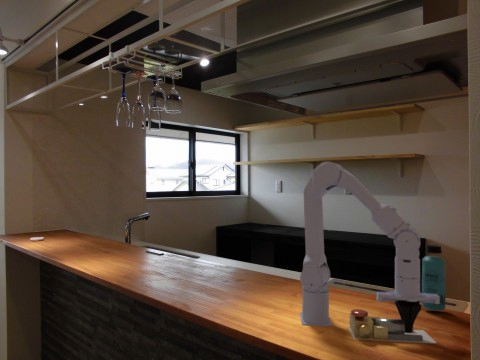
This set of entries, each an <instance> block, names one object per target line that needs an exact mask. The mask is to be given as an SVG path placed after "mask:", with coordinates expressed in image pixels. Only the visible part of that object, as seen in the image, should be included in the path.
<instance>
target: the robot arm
mask: <svg viewBox="0 0 480 360" xmlns="http://www.w3.org/2000/svg"><path fill="white" fill-rule="evenodd" d="M335 187H337V188H340V189H342V190H346V191H349V193H351V194H352V195H353V196H354V197H355V199H357V200H358V201H359V202H360V204H362V205H363V206H364V207H365V208H366V209H367V210H368V211H370V214H371V215H370V217H371V221H372V222H373V223H374V224H375V225H376V226H377V228H379V229H380V230H381V231H382V232H383V233H384V234H385V236H386V237H387V238H389V239H393V245H394V247H395V257H394V290H393V291H377V292H376V293H375V294H376V299H375V300H376V301H377V302H379V303H383V302H394V305H395V306H396V309H397V311H398V314H399V316H400V319H402V320H403V322H404V326H405V332H406V333H412V328H413V329H414V324H415V321H416V320H417V317H418V315H419V314H420V312H421V311H422V304H421V303H434V304H440V296H438V295H437V294H428V293H421V259H420V258H419V257H420V247H421V237H420V234H419V233H418V231H417V229H416V228H414V227H411V226H412V225H411V223H410V222H409V221H406V220H405V219H404V218H403V217H402V216H401V215H400V214H398V212H397V208H396V207H395V206H392V207H391V205H389V204H388V203H387V204H386V203H385V204H384V203H380V202H379V201H378V200H377V198H375V196H374V195H373V194H372V193H371V192H370V190H368V189H367V188H366V187H365V185H363V183H362V182H361V181H360V180H359V179H358V178H357V177H356V176H354V175H353V174H352V173H351V172H350V171H348V170H347V169H345V168H344V167H343V166H342V165H340V164H338V163H334V162H333V161H325V162H321V163H320V164H319V165H318V166H316V167H315V168H314V169H313V170H312V174H311V176H310V177H309V180H308V181H307V183H306V185H305V187H304V189H303V210H304V211H303V212H304V214H303V215H304V244H305V256H304V258H303V262H302V271H301V273H300V275H299V281H300V284H301V286H302V290H301V291H302V294H301V297H302V299H301V300H302V308H301V310H302V311H300V312H299V315H300V316H299V317H300V322H301V325H302V326H315V327H316V326H317V327H333V323H332V321H331V318H330V288H329V286H328V284H327V282H328V281H329V280H330V278H331V271H330V268H329V265H328V262H327V260H328V259H327V256H326V254H325V242H324V241H325V238H324V236H325V235H324V214H323V212H324V211H323V210H324V209H323V207H324V206H323V197H325V195H326V194H327V193H328V192H330V190H332V189H334V188H335Z"/></svg>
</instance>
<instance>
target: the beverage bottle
mask: <svg viewBox="0 0 480 360" xmlns="http://www.w3.org/2000/svg"><path fill="white" fill-rule="evenodd" d="M425 250H426V251H425V252H426V253H429V254H436V255H425V256H424V257H423V258H422V259H421V262H422V265H421V266H422V268H421V271H422V272H421V280H420V283H421V287H420V293H428V294H437V295H438V296H440V304H434V303H420V305H421V307H423V308H424V309H427V310H430V311H438V312H441V311H445V309H446V306H447V300H446V295H447V293H446V260H445V259H444V258H443V257H441V256H437V254H438V255H439V254H442V253H443V251H442V246H440V245H436V244H428V245H426V249H425Z"/></svg>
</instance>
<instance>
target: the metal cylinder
mask: <svg viewBox="0 0 480 360" xmlns="http://www.w3.org/2000/svg"><path fill="white" fill-rule="evenodd" d="M375 326H387V327H388V333H389V334H405V326H404V322H403V320H402V319H401V318H382V317H381V318H376V319H375Z"/></svg>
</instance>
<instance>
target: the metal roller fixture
mask: <svg viewBox="0 0 480 360" xmlns="http://www.w3.org/2000/svg"><path fill="white" fill-rule="evenodd" d="M347 329H348V330H349V332H350V334H351V336H352V338H353V340H357V341H375V342H376V341H378V342H380V341H381V342H384V341H383V340H374V339H372V338H367V339H365V338H355V337H354V335H353V333H352V332H351V330H350V326H347ZM387 342H397V343H398V342H400V343H421V344H437V342H436V341H435V340H434V338H432V337H431V336H430V335H429V334H428V333H427V332H426V331H425V330H423V329H414V327H413V328H412V333H406V332H405V334H389V333H388V341H387Z"/></svg>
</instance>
